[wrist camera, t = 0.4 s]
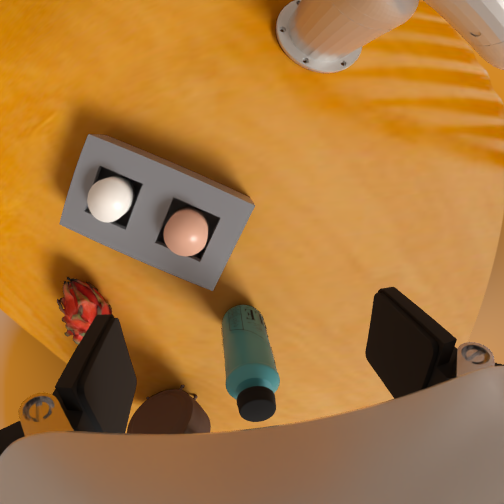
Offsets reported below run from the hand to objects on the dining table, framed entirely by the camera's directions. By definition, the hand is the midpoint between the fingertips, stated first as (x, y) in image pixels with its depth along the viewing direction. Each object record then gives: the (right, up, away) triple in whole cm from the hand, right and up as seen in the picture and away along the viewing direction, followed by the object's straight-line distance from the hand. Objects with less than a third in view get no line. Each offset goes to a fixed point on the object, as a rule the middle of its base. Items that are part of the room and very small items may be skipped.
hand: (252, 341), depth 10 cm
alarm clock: (-15, -24, +42) cm, 51 cm away
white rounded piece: (-17, +10, +25) cm, 32 cm away
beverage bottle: (-2, -7, +37) cm, 38 cm away
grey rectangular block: (-13, +10, +30) cm, 34 cm away
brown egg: (-8, +6, +27) cm, 29 cm away
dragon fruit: (-26, -5, +34) cm, 43 cm away
